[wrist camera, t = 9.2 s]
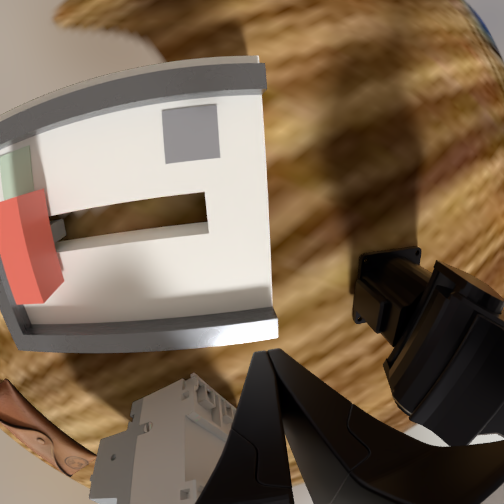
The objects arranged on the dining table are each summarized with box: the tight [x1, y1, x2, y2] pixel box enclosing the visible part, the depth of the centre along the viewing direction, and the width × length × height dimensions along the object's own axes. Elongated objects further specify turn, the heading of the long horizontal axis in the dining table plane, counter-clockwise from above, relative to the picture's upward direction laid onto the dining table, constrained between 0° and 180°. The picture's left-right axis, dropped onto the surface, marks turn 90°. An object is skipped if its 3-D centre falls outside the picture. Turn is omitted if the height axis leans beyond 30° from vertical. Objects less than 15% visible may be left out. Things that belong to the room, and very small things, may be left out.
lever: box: [0, 189, 66, 305], centre depth 14 cm, size 2×6×6 cm, turn 3°
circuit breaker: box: [89, 373, 236, 504], centre depth 18 cm, size 8×14×15 cm, turn 122°
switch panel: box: [0, 56, 273, 324], centre depth 16 cm, size 20×18×3 cm
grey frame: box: [0, 63, 278, 353], centre depth 14 cm, size 20×16×2 cm
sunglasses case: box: [0, 379, 97, 477], centre depth 23 cm, size 18×7×7 cm
